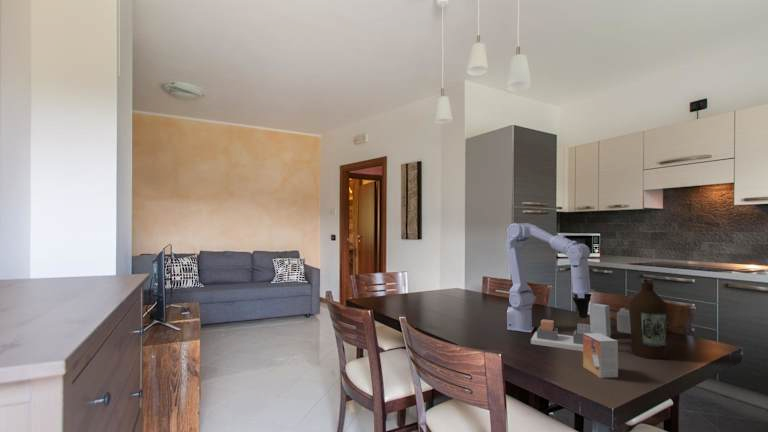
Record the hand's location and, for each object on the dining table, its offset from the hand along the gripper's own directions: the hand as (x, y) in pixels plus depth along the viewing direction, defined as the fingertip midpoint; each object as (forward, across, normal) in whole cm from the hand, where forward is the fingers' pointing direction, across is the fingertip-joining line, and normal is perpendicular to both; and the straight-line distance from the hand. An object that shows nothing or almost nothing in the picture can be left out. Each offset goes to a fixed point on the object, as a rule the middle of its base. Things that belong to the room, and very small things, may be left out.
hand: (584, 315), depth 134 cm
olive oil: (+12, +1, -18) cm, 22 cm away
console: (+10, 0, +7) cm, 12 cm away
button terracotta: (+6, 0, +13) cm, 14 cm away
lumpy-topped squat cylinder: (+11, +32, -16) cm, 37 cm away
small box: (+12, -24, -4) cm, 27 cm away
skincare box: (+11, +17, -4) cm, 20 cm away
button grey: (+7, 0, +1) cm, 7 cm away
